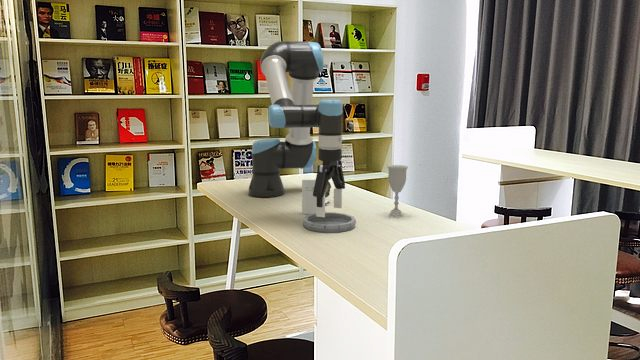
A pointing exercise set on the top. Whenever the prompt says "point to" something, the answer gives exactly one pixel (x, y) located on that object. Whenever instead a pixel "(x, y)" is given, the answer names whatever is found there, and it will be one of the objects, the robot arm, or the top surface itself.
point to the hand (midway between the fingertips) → (329, 212)
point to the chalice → (396, 185)
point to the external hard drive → (308, 197)
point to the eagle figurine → (327, 192)
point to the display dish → (329, 222)
